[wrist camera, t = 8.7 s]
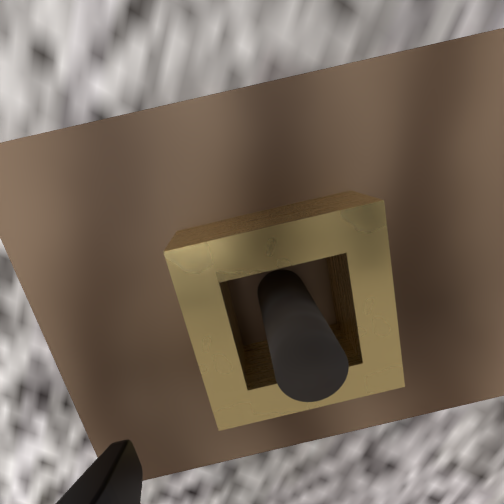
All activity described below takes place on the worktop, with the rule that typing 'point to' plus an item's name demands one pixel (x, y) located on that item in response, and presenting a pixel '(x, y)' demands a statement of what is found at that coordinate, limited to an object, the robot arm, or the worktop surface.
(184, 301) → the brass link
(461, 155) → the keeper base
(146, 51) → the worktop surface
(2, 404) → the worktop surface
